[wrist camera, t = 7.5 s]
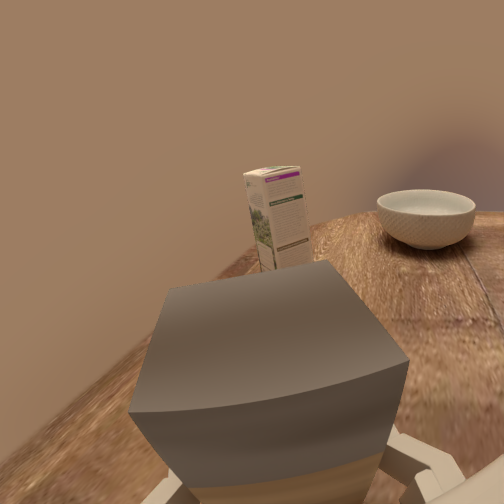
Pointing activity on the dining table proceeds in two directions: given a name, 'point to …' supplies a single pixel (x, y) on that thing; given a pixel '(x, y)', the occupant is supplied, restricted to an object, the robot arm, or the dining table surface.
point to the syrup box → (279, 216)
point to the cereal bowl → (426, 217)
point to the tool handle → (270, 388)
